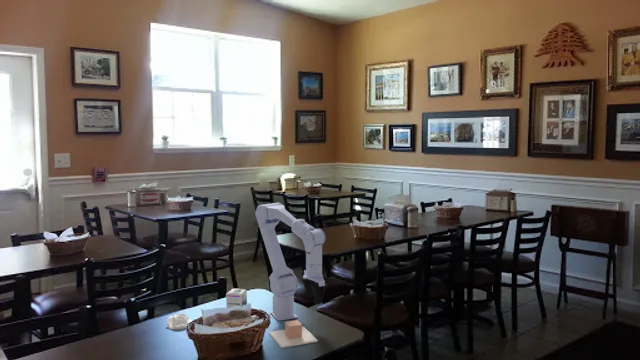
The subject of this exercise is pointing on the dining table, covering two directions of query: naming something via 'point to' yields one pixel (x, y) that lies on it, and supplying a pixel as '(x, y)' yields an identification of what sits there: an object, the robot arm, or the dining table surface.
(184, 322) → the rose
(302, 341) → the serving plate
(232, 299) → the syrup box
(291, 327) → the terracotta block
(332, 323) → the dining table surface
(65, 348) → the dining table surface
